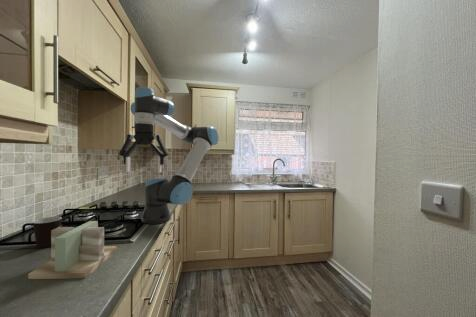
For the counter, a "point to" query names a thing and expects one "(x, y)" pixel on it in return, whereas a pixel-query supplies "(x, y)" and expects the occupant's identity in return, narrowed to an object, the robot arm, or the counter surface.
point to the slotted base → (73, 270)
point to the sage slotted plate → (69, 246)
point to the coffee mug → (45, 230)
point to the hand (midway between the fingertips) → (143, 172)
